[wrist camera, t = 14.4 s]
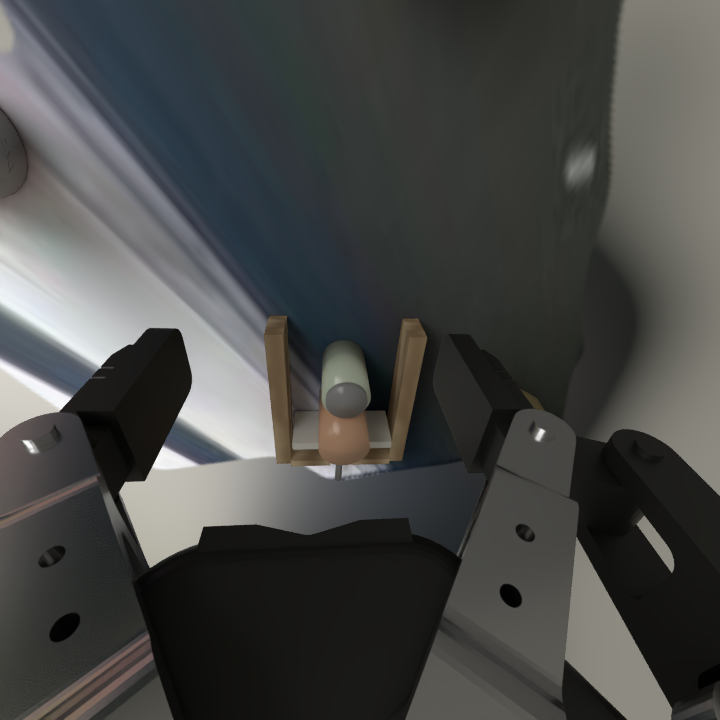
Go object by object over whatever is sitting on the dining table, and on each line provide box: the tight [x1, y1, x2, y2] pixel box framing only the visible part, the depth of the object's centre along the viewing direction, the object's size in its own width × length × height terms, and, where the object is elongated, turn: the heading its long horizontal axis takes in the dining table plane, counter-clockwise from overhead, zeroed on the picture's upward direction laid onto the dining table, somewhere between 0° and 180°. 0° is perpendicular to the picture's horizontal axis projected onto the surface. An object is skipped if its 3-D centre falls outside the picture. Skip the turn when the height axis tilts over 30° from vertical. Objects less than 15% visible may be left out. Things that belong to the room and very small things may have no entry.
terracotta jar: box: [318, 386, 370, 465], centre depth 44 cm, size 6×6×10 cm
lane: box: [264, 316, 427, 466], centre depth 45 cm, size 18×21×5 cm
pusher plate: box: [292, 411, 392, 481], centre depth 51 cm, size 13×13×6 cm
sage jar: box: [322, 340, 371, 418], centre depth 41 cm, size 6×6×9 cm
